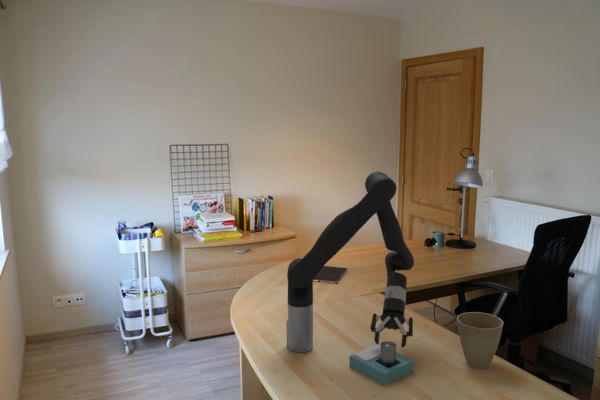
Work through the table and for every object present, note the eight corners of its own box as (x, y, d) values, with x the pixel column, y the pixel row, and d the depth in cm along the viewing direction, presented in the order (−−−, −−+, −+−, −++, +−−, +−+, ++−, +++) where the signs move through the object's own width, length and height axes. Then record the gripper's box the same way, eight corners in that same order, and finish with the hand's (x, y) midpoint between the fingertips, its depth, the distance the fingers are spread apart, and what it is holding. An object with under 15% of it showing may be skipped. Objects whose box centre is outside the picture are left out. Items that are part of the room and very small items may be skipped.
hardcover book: (347, 272, 281) (347, 268, 281) (336, 285, 260) (337, 280, 259) (319, 269, 286) (319, 265, 286) (307, 281, 265) (307, 277, 264)
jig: (349, 366, 174) (349, 354, 173) (377, 354, 183) (378, 342, 182) (384, 385, 162) (384, 372, 161) (413, 372, 170) (413, 359, 170)
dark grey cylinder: (376, 372, 170) (377, 344, 169) (387, 367, 173) (387, 339, 172) (388, 378, 167) (388, 349, 165) (398, 373, 170) (399, 345, 168)
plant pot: (490, 353, 183) (492, 311, 181) (508, 374, 169) (511, 328, 166) (449, 354, 183) (451, 311, 180) (463, 374, 168) (465, 329, 166)
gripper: (373, 294, 181) (367, 338, 172) (414, 298, 177) (410, 344, 168) (375, 303, 187) (370, 346, 178) (415, 308, 183) (411, 352, 174)
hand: (389, 345), depth 173 cm, fingers open, 8 cm apart
